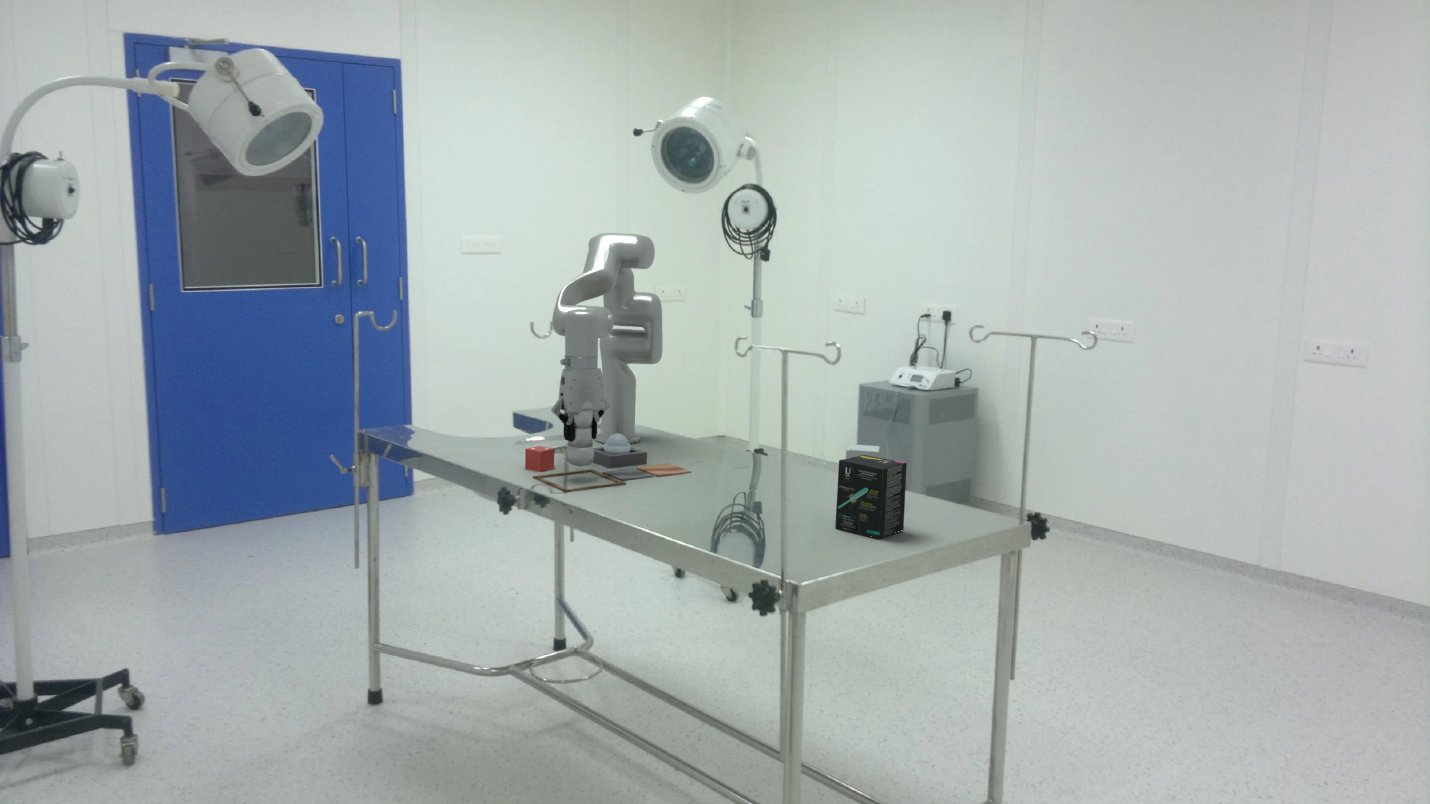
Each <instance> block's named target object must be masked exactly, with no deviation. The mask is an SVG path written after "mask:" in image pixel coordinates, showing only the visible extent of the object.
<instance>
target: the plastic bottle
mask: <svg viewBox="0 0 1430 804" xmlns="http://www.w3.org/2000/svg"><path fill="white" fill-rule="evenodd" d="M592 407H593V405H592V404H591V403H590V401H589V402H584V404H583V405H582V410H583V412H580V413H574V417H573V420H572V425H573V426H574V440H573V442H570V441H567V443H568V444H567V447H566V455H565V456H566V461H567V462H568V464H569V465H572V466H577V467H586V466H590V465H592V463H594V462H593V460H594V448H595V447H594V446H593V439H592V420H593V413H594V412H593V411H591V410H592ZM568 414H569V413H568Z"/></svg>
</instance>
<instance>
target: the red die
mask: <svg viewBox="0 0 1430 804" xmlns="http://www.w3.org/2000/svg"><path fill="white" fill-rule="evenodd" d="M524 451H525V454H524V455H525V456H524V457H525V458H524V459H525V463H524V466H525V467H524V469H525V470H528V471H534V472H539V473H542V472H545V471H549V470H553V469H555V448H554V447H547V446H542V445H537V446H532V447H528V448H525V450H524Z"/></svg>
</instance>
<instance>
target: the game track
mask: <svg viewBox="0 0 1430 804" xmlns="http://www.w3.org/2000/svg"><path fill="white" fill-rule="evenodd" d="M586 473H591V474H594V475H596V476H599V477H601V478H604V479H607V480H609V481H611V482H613V483H606V484H604V483H603V484H598V485H597V484H596V485H590V486H582V487H581V486H580V487H573V488H565V487H563V486H561V485H559V484H556V483H554V482H552V481H551V480H550V481H549V480H548V479H545V478H553V477H562V476H569V475H577V474H586ZM691 473H692V470H689V469H686V468H684V467H681V466H678V465H676V464H672V463H669V462H668V463H661V464H654V465H653V464H651V465H643V466H636V467H635V468H634V467H631V468H623V469H622V468H621V469H615V470H607V471H602V472H599V471H597V470H594V469H592V468H591V469H585V470H584V469H583V470H576V471H565V472H559V473H549V474H541V475H533V476H532V479H535V480H536V481H539V482H540V483H543V484H546V485H548V486H550V487H553V488H555V489H557V490H559V491H562V492H564V493H570V492H579V491H586V490H594V489H601V488H609V487H614V486H615V487H616V486H617V487H618V486H625V485H627V482H625V481H633V480H638V479H639V480H640V479H648V478H654V477H657V478H659V477H667V476H668V477H670V476H675V475H676V476H677V475H684V474H691Z"/></svg>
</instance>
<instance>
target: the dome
mask: <svg viewBox="0 0 1430 804" xmlns="http://www.w3.org/2000/svg"><path fill="white" fill-rule="evenodd" d="M631 444H632V443H631ZM631 444H629V443H628V440H627V439H626V437H625V436H624V435H622V434H613V435H611V436H610V437H609V438H608V440H607V443H603V447H604V452H606V453H609V454H612V455H614V454H623V453H630V448H631V447H632V446H631Z"/></svg>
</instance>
